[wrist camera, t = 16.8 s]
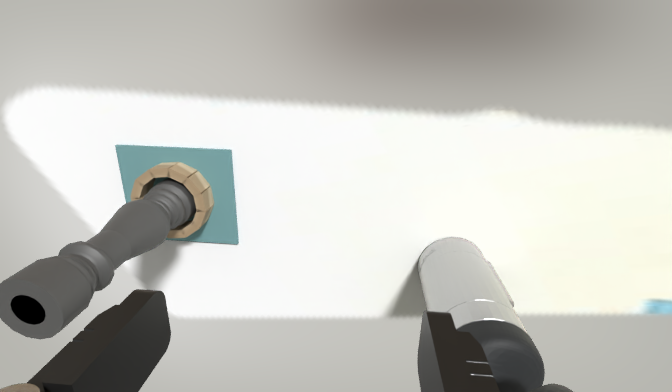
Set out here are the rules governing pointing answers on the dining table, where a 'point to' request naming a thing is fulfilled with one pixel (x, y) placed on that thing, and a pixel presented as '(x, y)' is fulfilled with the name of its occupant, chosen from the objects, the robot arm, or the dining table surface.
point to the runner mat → (206, 161)
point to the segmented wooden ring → (191, 182)
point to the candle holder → (90, 262)
